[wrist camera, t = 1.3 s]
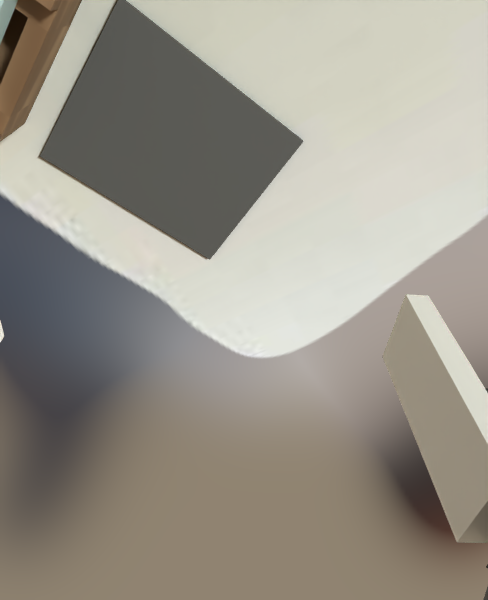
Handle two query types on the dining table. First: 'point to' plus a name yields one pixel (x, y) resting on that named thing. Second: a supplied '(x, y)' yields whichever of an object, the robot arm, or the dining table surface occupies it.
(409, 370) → the robot arm
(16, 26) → the box
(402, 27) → the dining table surface
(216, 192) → the mat
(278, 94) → the dining table surface
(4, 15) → the lid
